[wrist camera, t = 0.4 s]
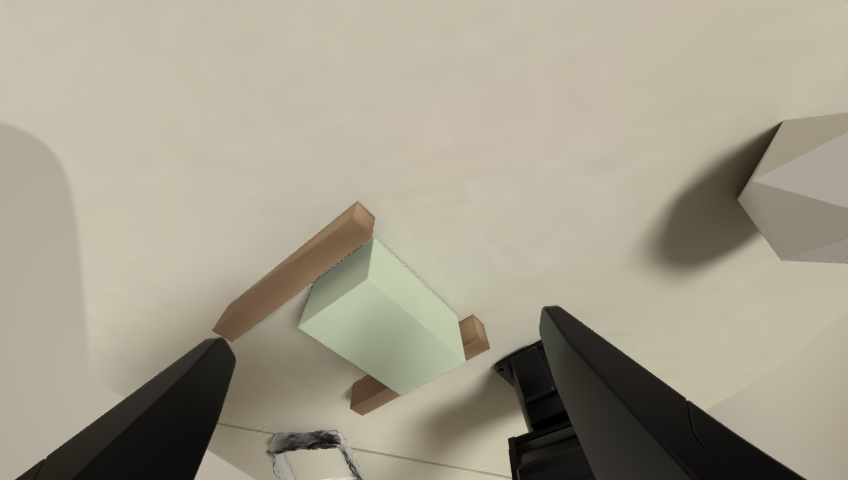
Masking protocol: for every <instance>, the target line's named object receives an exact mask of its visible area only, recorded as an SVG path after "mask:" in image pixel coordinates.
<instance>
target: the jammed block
mask: <svg viewBox="0 0 848 480" xmlns="http://www.w3.org/2000/svg"><path fill="white" fill-rule="evenodd" d="M298 328H299V329H301V330H302V331H304V332H305V333H307V334H308V335H310V336H311V337H313V338H314V339H316V340H317V341H319V342H320V343H322V344H323V345H325V346H326V347H328V348H329V349H331V350H333V351H334V352H336V353H337V354H339V355H340V356H342V357H343V358H345V359H346V360H348V361H349V362H351V363H352V364H354V365H355V366H357V367H358V368H360V369H361V370H363V371H365V372H366V373H368V374H369V375H371V376H372V377H374V378H375V379H377V380H378V381H380V382H381V383H383V384H384V385H386V386H387V387H389V388H390V389H392V390H393V391H395V392H397V393H398V394H400V395H401V396H402V395H404V394H406V393H408V392H410V391H412V390H414V389H416V388H417V387H419V386H421V385H423V384H425V383H427V382H429V381H431V380H433V379H434V378H436V377H438V376H440V375H442V374H444V373H446V372H448V371H450V370H452V369H453V368H455V367H457V366H459V365H461V364H463V363H465V362H466V359H465V354H464V349H463V344H462V339H461V333H460V328H459V323H458V318H457V315H456V314H455V313H454V312H453V311H452V310H451V309H450V308H449V307H448V306H446V305H445V304H444V303H443V302H442V301H441V300H440V299H439V298H438V297H437V296H436V295H435V294H434V293H433V292H432V291H431V290H429V289H428V288H427V287H426V286H425V285H424V284H423V283H422V282H421V281H420V280H419V279H418V278H417V277H416V276H415V275H414V274H413V273H411V272H410V271H409V270H408V269H407V268H406V267H405V266H404V265H403V264H402V263H401V262H400V261H399V260H398V259H397V258H396V257H394V256H393V255H392V254H391V253H390V252H389V251H388V250H387V249H386V248H385V247H384V246H383V245H382V244H381V243H380V242H379V241H377V240H376V239H375V238H372V239H371V240H370V241H368V242H367V243H366V244H364V245H363V246H361V247H360V248H359V249H357V250H356V251H355V252H353V253H352V254H351V255H349V256H348V257H347V258H345V259H344V260H343V261H341V262H340V263H339V264H337V265H336V266H335V267H333V268H332V269H331V270H329V271H328V272H327V273H325V274H324V275H323V276H321V277H320V278H319V279H317V280H316V281H315V282H314V285H313V287H312V290H311V293H310V296H309V298H308V301H307V304H306V306H305V309H304V312H303V314H302V317H301V320H300V322H299V325H298Z"/></svg>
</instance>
